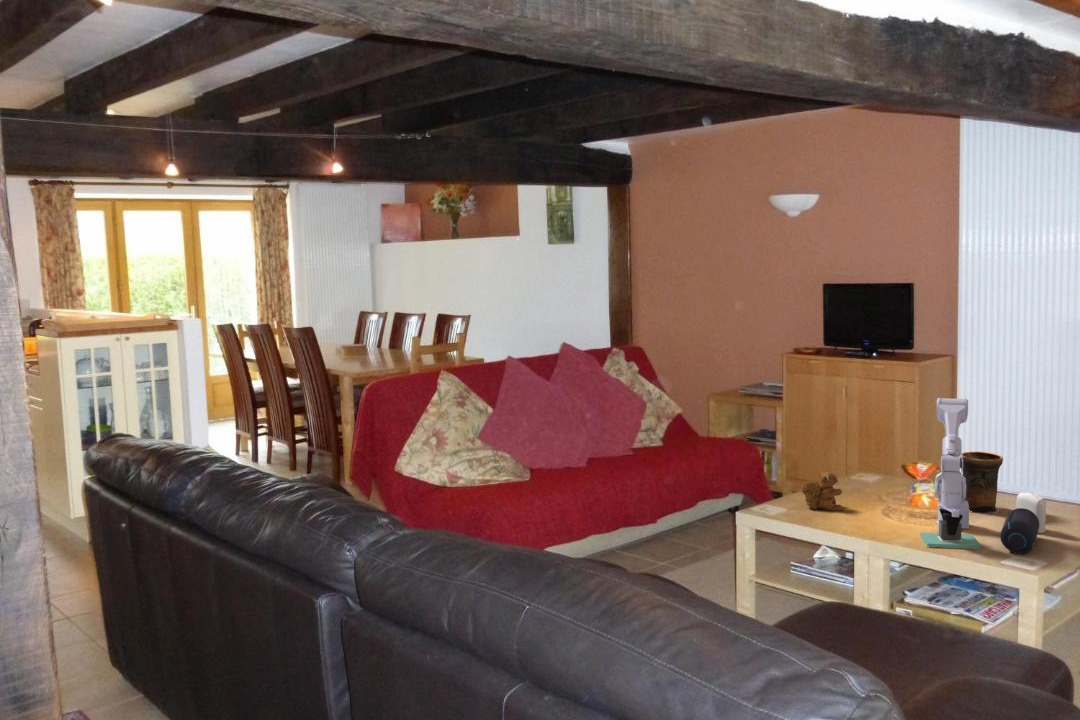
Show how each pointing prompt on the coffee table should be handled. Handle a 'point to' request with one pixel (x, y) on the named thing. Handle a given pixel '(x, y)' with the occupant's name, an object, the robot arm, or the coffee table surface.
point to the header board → (951, 541)
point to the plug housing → (944, 533)
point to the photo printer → (1033, 507)
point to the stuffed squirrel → (822, 493)
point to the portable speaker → (1020, 530)
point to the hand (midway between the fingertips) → (950, 533)
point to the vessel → (981, 480)
